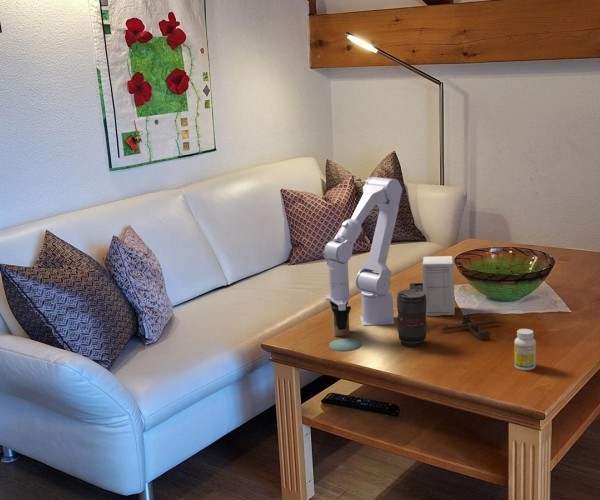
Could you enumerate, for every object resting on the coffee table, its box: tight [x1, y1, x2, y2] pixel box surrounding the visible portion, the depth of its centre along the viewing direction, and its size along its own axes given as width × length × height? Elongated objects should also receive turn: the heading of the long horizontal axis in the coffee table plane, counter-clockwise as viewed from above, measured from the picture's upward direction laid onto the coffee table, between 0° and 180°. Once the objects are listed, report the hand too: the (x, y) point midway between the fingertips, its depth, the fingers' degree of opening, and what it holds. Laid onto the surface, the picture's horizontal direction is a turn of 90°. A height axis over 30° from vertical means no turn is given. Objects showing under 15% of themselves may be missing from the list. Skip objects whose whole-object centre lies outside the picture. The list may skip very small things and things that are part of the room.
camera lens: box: [396, 288, 427, 348], centre depth 231 cm, size 8×8×15 cm
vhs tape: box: [409, 282, 423, 291], centre depth 277 cm, size 14×8×2 cm, turn 172°
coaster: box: [328, 338, 362, 352], centre depth 234 cm, size 9×9×1 cm
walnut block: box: [331, 310, 351, 337], centre depth 243 cm, size 4×4×7 cm
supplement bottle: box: [513, 328, 537, 371], centre depth 211 cm, size 5×5×10 cm
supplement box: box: [421, 255, 456, 317], centre depth 256 cm, size 10×9×17 cm
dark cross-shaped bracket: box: [441, 314, 501, 341], centre depth 239 cm, size 18×4×14 cm
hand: (341, 326), depth 243 cm, fingers closed on walnut block, 4 cm apart
